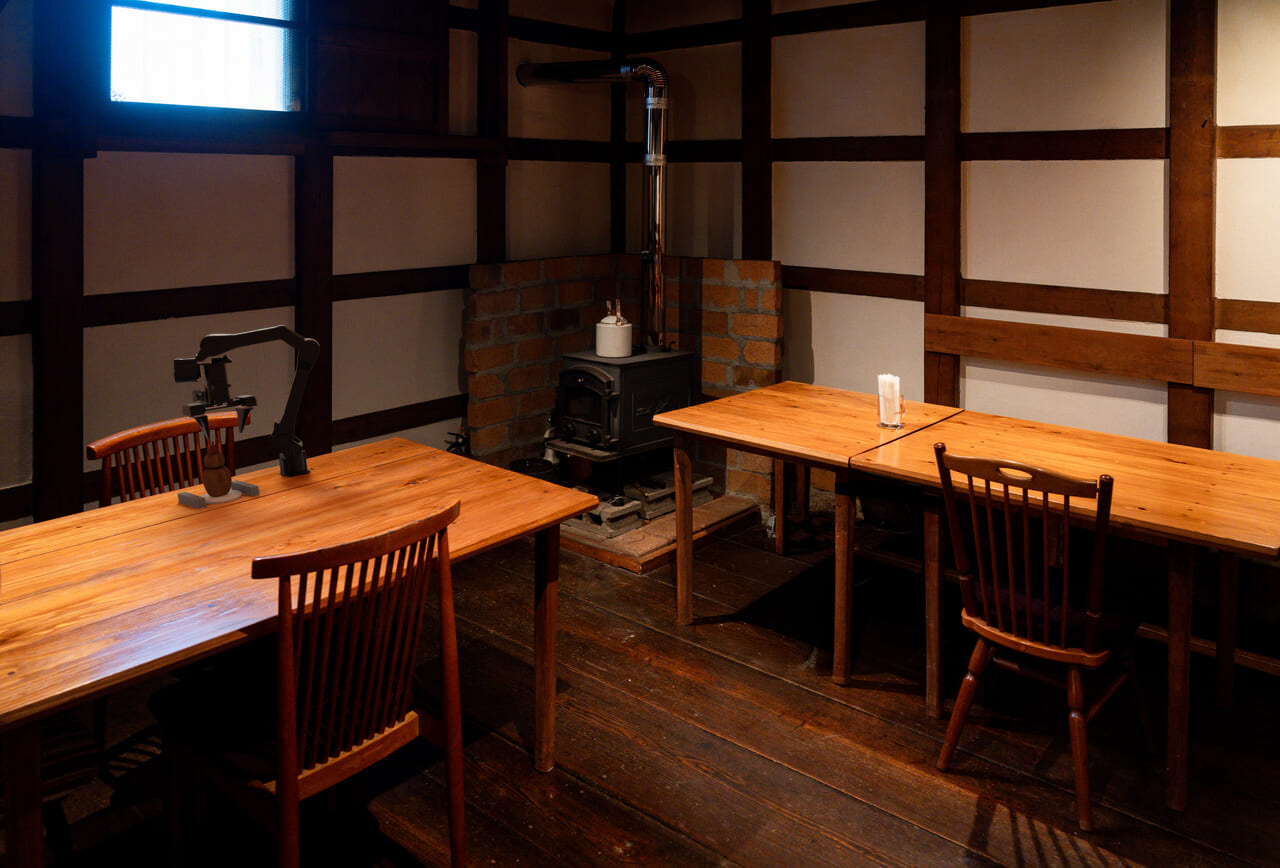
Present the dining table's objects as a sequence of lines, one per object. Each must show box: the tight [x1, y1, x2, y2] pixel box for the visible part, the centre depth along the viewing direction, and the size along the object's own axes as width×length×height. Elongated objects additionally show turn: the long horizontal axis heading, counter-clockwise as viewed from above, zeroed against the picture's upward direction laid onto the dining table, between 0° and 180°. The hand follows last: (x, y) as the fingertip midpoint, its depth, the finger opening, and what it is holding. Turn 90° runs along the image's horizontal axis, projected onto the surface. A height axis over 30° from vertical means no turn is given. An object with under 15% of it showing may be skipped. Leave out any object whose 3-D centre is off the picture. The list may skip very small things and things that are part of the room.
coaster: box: [199, 489, 243, 505], centre depth 255 cm, size 11×11×1 cm
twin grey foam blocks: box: [176, 479, 260, 510], centre depth 255 cm, size 16×12×2 cm
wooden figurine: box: [201, 437, 233, 497], centre depth 254 cm, size 7×6×15 cm
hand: (224, 436), depth 272 cm, fingers open, 9 cm apart
